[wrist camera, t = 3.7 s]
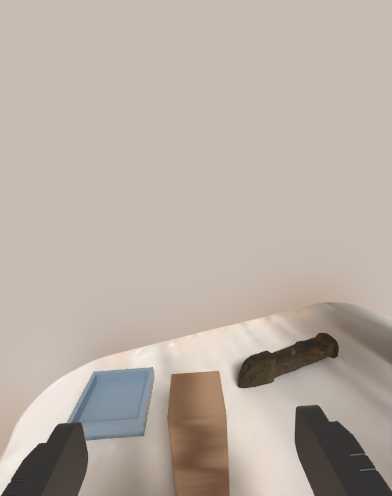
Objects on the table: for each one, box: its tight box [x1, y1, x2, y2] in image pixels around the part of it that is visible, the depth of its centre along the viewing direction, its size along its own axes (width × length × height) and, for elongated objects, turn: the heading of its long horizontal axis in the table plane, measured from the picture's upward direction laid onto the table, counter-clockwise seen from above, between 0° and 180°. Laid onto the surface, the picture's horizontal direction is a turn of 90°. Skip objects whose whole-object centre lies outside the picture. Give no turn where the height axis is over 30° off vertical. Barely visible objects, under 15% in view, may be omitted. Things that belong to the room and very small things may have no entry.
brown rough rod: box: [238, 333, 339, 388], centre depth 40 cm, size 19×4×5 cm, turn 110°
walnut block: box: [168, 371, 229, 496], centre depth 24 cm, size 5×5×11 cm
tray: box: [67, 367, 154, 440], centre depth 34 cm, size 10×10×2 cm
